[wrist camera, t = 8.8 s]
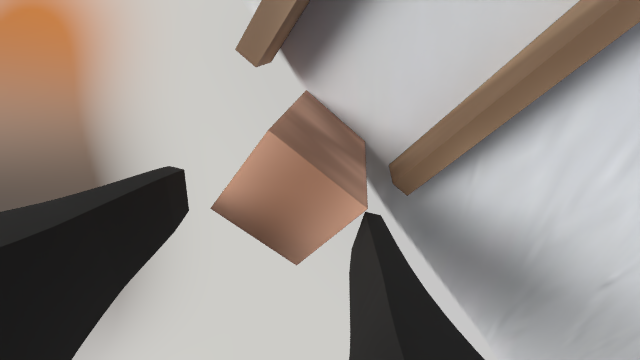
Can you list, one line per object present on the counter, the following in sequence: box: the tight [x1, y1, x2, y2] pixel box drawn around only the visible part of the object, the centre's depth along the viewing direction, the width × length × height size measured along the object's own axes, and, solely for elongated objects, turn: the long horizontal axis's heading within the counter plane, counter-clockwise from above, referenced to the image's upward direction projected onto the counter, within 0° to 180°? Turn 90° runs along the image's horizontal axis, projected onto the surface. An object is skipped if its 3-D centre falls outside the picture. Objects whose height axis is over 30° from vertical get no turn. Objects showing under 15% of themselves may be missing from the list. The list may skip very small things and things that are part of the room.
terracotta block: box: [211, 90, 368, 265], centre depth 11 cm, size 4×4×6 cm
